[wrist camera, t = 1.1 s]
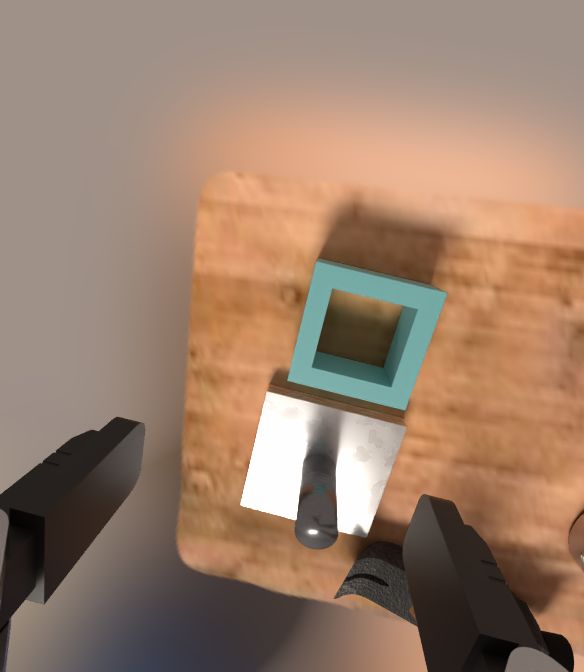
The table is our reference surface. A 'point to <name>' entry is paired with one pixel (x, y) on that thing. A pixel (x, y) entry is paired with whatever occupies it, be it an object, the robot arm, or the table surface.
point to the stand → (321, 464)
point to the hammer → (393, 594)
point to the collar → (405, 349)
